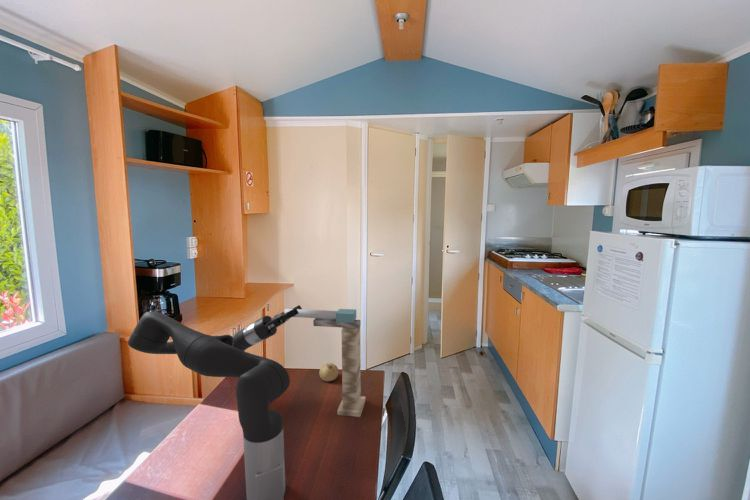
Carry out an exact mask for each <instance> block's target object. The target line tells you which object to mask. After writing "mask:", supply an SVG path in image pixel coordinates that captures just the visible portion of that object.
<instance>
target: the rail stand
mask: <svg viewBox="0 0 750 500" xmlns="http://www.w3.org/2000/svg"><path fill="white" fill-rule="evenodd" d="M312 323H313V324H312V325H313V327H327V328H340V329H341V378H342V379H341V381H342V385H341V387H342V389H341V390H342V393H341V394H342V398H341V401H340V404H339V406H338V408H337V410H336V411H337V412H336V414H337V416H344V417H345V416H346V417H347V416H348V417H356V418H361V416H362V412H363V410H364V407H365V403H366V396H362V395H361V394H362V393H361V391H362V389H361V384H362V383H361V381H362V380H361V377H362V376H361V319H355V321H354V322H353V323H350V322H336V319H322V318H313V321H312Z"/></svg>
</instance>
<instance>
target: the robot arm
mask: <svg viewBox="0 0 750 500" xmlns="http://www.w3.org/2000/svg"><path fill="white" fill-rule="evenodd" d="M290 309H293V310H291V311H289V312H287V313H284V311H282V312H280V313H278V314H275V315H273V317H271V316H270V315H264V316H262V317H261V318H259V319H257V320H255V321H254V322H252V323H250V324H249V325H247V326H246V327H243V328H242V329H240V330H239V331H237V332H235V334H233V336H232V335H230V334H223V335H222V334H221V335H211V334H205V333H203V332H201V331H197V330H195V329H193V328H190V327H189V326H186V325H184V324H183V323H181V322H180V321H178V320H176V319H174V318H172V317H170V316H168V315H166V314H164V313H162V312H157V311H146V312H145V313H143V314H142V316H141V317H140V319H139V321H138V322H137V324H136V326H135V327H134V329H133V331H132V332H131V334H130V337H129V339H128V340H127V345H128V346H129V347H130V348H131V349H133V350H136V351H138V352H140V353H144V354H149V355H177V358H178V359H179V361H180V363H181V364H182V365H183V366H184V367H185V368H187V369H189V370H191V371H192V372H194V373H196V374H198V375H202V376H205V377H210V378H211V377H212V378H238V379H237V381H236V384H235V386H236V387H235V396H236V397H235V398H236V405H237V413H238V415H237V416H238V421H239V424H240V427H241V429H242V437H243V439H242V440H243V455H244V457H243V458H244V470H245V472H244V474H245V493H246V494H245V495H246V500H285V497H284V496H285V493H286V470H285V469H286V467H285V465H286V464H285V442H284V419H283V415H282V414H281V413H280V411H279V410H276V409H273V408H272V409H271V408H269V405H270V404H272V403H273V402H274V401H276V400H277V399H278V398H279V397H281V396H282V395H283V394H284V393H285V392H286V391H287V390H288V389H289V386H290V383H291V379H290V375H289V373H288V370H287V369H286V368H285V367H284V366H283V365H282V364H281V363H279V362H277V361H275V360H273V359H270V358H267V357H263V356H260V355H257V354H253V353H250V352H247V351H246V350H247V349H249V348H251V347H253V346H254V345H256V344H259V343H262V342H263V341H266V340H267V339H269V338H271V337H272V336H275V334H277V331H278V328H279V327H280V326H282V325H284V324H286V322H287V321H289V320H290V319H291V318H294V317H293V316H295V315H297V314H298V313H299V312H298V310H297V309H303V308H302V307H301V305H299V304H298V305H296V306H295V307H292V308H290ZM170 338H171V340H172V341H169V339H170Z"/></svg>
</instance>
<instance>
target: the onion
mask: <svg viewBox="0 0 750 500" xmlns="http://www.w3.org/2000/svg"><path fill="white" fill-rule="evenodd" d="M318 371H319V373H318V375H319V377H320V379H321V380H323V381H324V382H332V381H335V380H336V379H337V378H338V376H339V368H338V366H337V365H336V364H334V363H332V362H328V363H324V364H323V365H322V366H321V367H320V369H319V370H318Z"/></svg>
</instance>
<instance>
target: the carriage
mask: <svg viewBox="0 0 750 500" xmlns="http://www.w3.org/2000/svg"><path fill="white" fill-rule="evenodd" d="M291 310H293V308H292V309H291V308H285V309H284V311H283V312H284V313H287V312H289V311H291ZM297 310H298V312H299V313H298V314H297V315H295V316H293V317H292V318H305V319H307V318H308V319H315V318H322V319H336V322H350V323H353V322H354V321H355V320H357V309H354V308H353V309H350V308H349V309H348V308H339V309H338V310H324V309H323V310H321V309H304V308H302V309H297Z"/></svg>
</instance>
